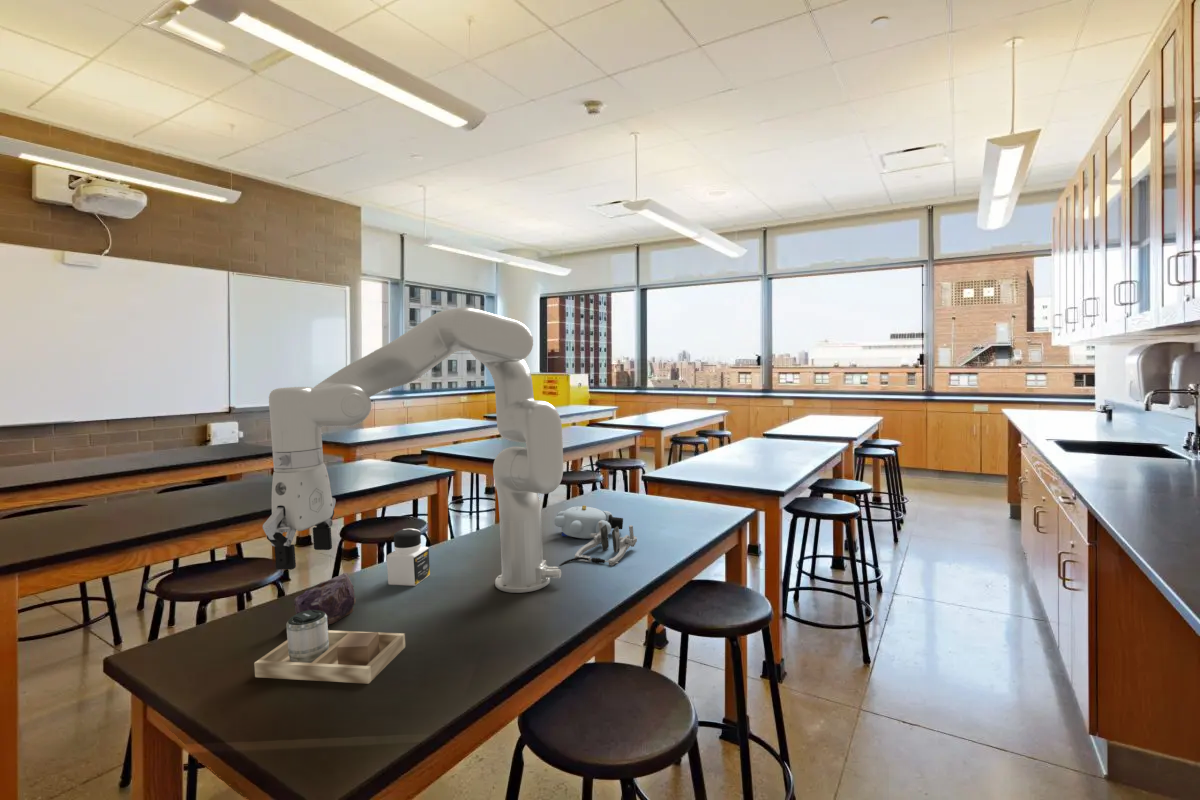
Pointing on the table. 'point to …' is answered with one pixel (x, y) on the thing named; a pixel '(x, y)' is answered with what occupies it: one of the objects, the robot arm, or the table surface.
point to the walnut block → (358, 649)
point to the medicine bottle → (408, 559)
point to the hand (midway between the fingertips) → (305, 558)
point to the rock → (329, 598)
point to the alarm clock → (585, 521)
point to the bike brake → (606, 545)
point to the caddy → (330, 661)
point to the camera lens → (307, 636)
